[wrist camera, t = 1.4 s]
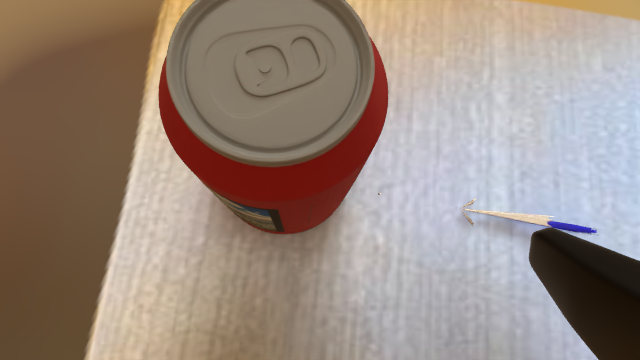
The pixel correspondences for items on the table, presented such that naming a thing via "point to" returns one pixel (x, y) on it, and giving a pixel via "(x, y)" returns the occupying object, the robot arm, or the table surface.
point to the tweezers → (533, 220)
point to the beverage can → (274, 105)
